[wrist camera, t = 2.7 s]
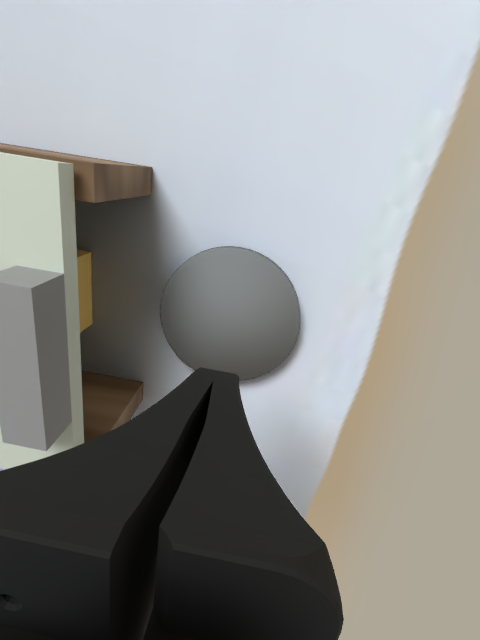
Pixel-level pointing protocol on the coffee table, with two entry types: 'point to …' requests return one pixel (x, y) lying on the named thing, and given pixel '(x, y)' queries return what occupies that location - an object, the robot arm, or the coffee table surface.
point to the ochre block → (84, 288)
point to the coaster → (230, 312)
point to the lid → (38, 311)
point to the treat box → (97, 186)
